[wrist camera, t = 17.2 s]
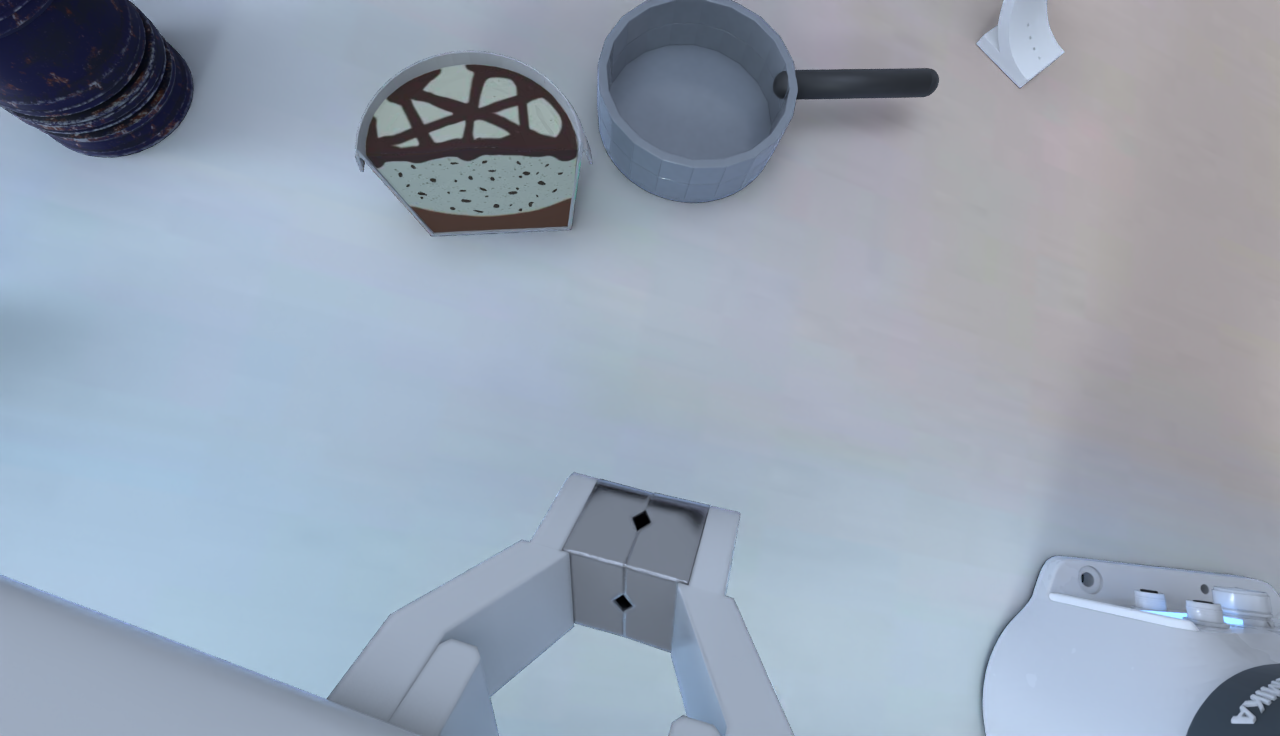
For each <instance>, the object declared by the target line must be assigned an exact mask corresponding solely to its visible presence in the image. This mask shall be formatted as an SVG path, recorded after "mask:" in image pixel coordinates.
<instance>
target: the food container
mask: <svg viewBox="0 0 1280 736" xmlns="http://www.w3.org/2000/svg"><path fill="white" fill-rule="evenodd" d="M355 149H356V152H355V158H356V161H357V163H358V166H359V169H360V172H364V164H365V162H366V163H367V165H368V166H369V167H370V168H371V169H372V170H373V171H374V172H375V174H376V175H377V176H378V177H379V178H380V179H381V180H382V181H383V183H384V184H385V185H386V186H387V187H388V188H389V189H390V190H391V191H392V193H393V194H394V195H395V196H396V197H397V198H398V199H399V200H400V202H401V203H402V204H403V205H404V206H405V207H406V208H407V209H408V210H409V212H410V213H411V214H412V215H413V216H414V217H415V218H416V219H417V221H418V222H419V223H420V224H421V225H422V226H423V227H424V228H425V229H426V231H427V232H428V233H429V234H430V235H431V236H446V235H468V234H490V233H511V232H533V231H555V230H571V226H572V220H573V213H574V206H575V199H576V192H577V185H578V178H579V172H580V165H581V158H582V151H585V153H586V155H587V158H588V160H589V163H590V164H593V162H592V157H591V151H590V147H589V144H588V141H587V139H586V136H585V133H584V130H583V127H582V124H581V122H580V119H579V117H578V115H577V114H576V112H575V110H574V108H573V106H572V105H571V104H570V102H569V101H568V100H567V98H566V97H565V96H564V95H563V93H562V92H561V91H560V90H559V89H558V87H557V86H556V85H555V84H553V83H552V82H551V81H550V80H549V79H548V78H547V77H546V76H545V75H543V74H542V73H540V72H539V71H537V70H536V69H534V68H533V67H531V66H529V65H527V64H525V63H523V62H521V61H519V60H516V59H513V58H510V57H507V56H504V55H501V54H496V53H490V52H485V51H457V52H448V53H444V54H439V55H435V56H432V57H429V58H426V59H423V60H421V61H418V62H416V63H414V64H412V65H410V66H409V67H407V68H405V69H403V70H402V71H400V72H399V73H397V74H396V75H395V76H393V77H392V78H391V79H389V80H388V81H387V82H386V83H385V84H384V85H383V86H382V87H381V88H380V89H379V90H378V92H377V93H376V94H375V96H374V97H373V98H372V100H371V101H370V103H369V104H368V106H367V108H366V110H365V112H364V114H363V116H362V118H361V121H360V125H359V128H358V131H357V136H356V145H355Z"/></svg>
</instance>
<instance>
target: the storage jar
mask: <svg viewBox="0 0 1280 736" xmlns="http://www.w3.org/2000/svg"><path fill="white" fill-rule="evenodd" d="M192 94H193V80H192V76H191V72H190V70H189V68H188V66H187V64H186V62H185V60H184V59H183V58H182V57H181V55H180V54H179V53H178V52H177V51H176V50H175V49H174V48H173V47H172V46H171V45H170V44H169V43H168V42H166V40H165V39H164V38H163V36H162V35H161V34H160V33H159V31H158V30H157V29H156V27H155V26H154V25H153V23H152V22H151V21H150V20H149V19H148V18H147V17H146V16H145V15H144V14H143V13H142V12H141V11H140V10H139V9H138V8H137V7H136V6H135V5H134V4H133V3H132V2H130V1H129V0H0V106H1V107H2V108H4V109H5V110H7V111H8V112H10V113H11V114H13V115H14V116H16V117H17V118H19V119H20V120H22V121H24V122H25V123H27V124H29V125H31V126H33V127H35V128H38V129H39V130H41V131H42V132H44V133H46V134H48V135H49V136H51V137H52V138H53V139H55V140H56V141H58V142H59V143H61V144H62V145H64V146H66V147H67V148H69V149H71V150H74V151H76V152H78V153H82V154H85V155H89V156H97V157H117V156H125V155H129V154H133V153H137V152H140V151H142V150H144V149H147V148H149V147H151V146H153V145H155V144H157V143H158V142H160V141H161V140H163V139H164V138H165V137H167V136H168V135H169V134H170V133H171V132H172V131H173V130H174V129H175V128H176V127H177V126H178V125H179V124H180V122H181V121H182V120H183V118H184V117H185V115H186V113H187V111H188V109H189V106H190V103H191V100H192Z"/></svg>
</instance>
